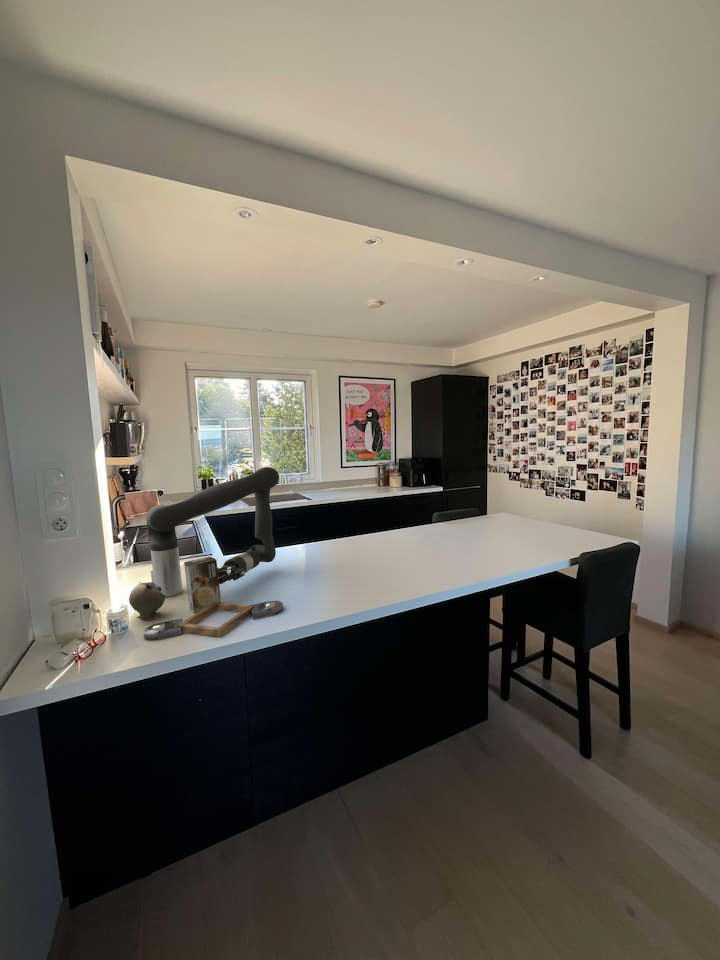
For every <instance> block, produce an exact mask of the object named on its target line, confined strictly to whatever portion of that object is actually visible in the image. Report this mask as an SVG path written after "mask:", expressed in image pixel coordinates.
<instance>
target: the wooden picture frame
mask: <svg viewBox="0 0 720 960" xmlns="http://www.w3.org/2000/svg"><path fill="white" fill-rule="evenodd" d="M251 605H252V604H249V605H248V604H239V603H231V602H230V603H229V602H221V603H220V602H215V603H213V604H212V605H210V606H208V607H207V608H205V609H203V610H202V611H200V612H198V613H194V615H191V616H190V617H188V618H186V619H184V620H183V622H181V623H180V624H178V625H177V627H181V629H182V634H183V633H184V634H191V635H197V636H206V637H214V638H221V637H223V636H224V635H225V634H227V633H228V632H230V631H231V630H232V629H233V628H235V627H236V626H238V625H239V624H241V623H242V622H243V621H244V620H246V619H247V618H248V617H250V616H252V615H251V609H252V608H254V606H251ZM221 610H225V611H224V612H230V611H235V612H234V613H238V614H236V615H234V616H233V617H232V618H230V619H229V620H227V621H226V622H224V623H223V624H221V625H220V626H218V627H216V626H208V625H199V624H197V623H199V622H200V621H202V620H203V619H205V618H208V616H209V615H212V614H213V613H215V612H216V611H221ZM214 611H215V612H214ZM239 612H240V613H239ZM211 613H212V614H211ZM249 615H250V616H249ZM245 618H246V619H245ZM241 621H242V622H241Z"/></svg>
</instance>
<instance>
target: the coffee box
mask: <svg viewBox="0 0 720 960" xmlns="http://www.w3.org/2000/svg"><path fill="white" fill-rule="evenodd" d="M183 563H184V564H183V566H184V573H185V581H186V592H187V601H188V608H189V610H190V611H191V612H192V613H193V614H196V613H198V612H200V611H202V610H203V609H205V608H207V607H208V606H210V605H212V604H213V603H215V602H220V603H222V598H221V590H220V588H221V587H220V584H219V578H218V569H217V568H218V563H217V559H216V558H214V557H212V556H208V557H203V558H197V559H192V560H188V561H184V562H183Z"/></svg>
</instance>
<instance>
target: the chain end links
mask: <svg viewBox="0 0 720 960" xmlns="http://www.w3.org/2000/svg"><path fill="white" fill-rule="evenodd" d="M250 605H251V606H254V608H252V609H251V615H250V616H251V618H252V620H256V618H257V619H261V618H266V616H267V617H271V615H272V616H275V615H274V614H276V615H278V614H280V613H282V612H283V610H284V604H283V602H282V601H280V600H270V601H269V600H267V601H264V602H259V603H252V604H250ZM281 611H282V612H281ZM183 621H184V620H183V617H181V618H177V619H172V620H167V621H162V622H157V623H154V624H151V625H150V626H147V627H146V628H145V629H144V630H143V638H144V639H145V640H147V641H156V640H157V641H158V640H162V639H167V638H171V637H176V636H180V635H183V632H182V629H181V627H177V625H178V624H180V623H181V622H183Z"/></svg>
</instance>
